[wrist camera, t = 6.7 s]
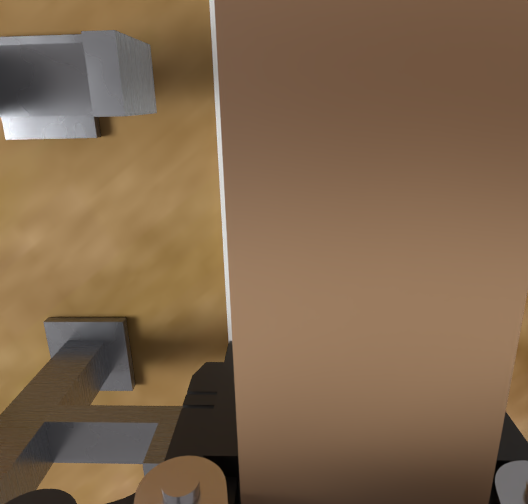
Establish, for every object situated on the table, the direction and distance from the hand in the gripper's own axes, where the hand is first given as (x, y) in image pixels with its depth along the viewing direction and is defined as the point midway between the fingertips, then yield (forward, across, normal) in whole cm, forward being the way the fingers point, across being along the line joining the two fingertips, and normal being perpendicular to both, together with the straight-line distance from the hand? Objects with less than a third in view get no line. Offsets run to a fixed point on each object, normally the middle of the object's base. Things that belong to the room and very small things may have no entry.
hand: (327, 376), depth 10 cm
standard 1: (+16, +11, +9) cm, 21 cm away
